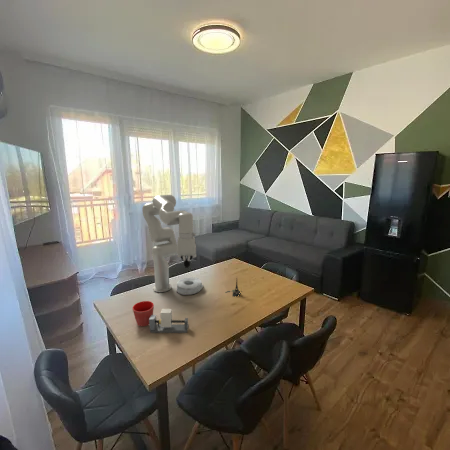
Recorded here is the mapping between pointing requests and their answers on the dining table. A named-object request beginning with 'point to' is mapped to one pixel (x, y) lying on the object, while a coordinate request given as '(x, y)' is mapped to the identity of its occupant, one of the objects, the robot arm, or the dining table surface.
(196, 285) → the cable
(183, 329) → the grey slider rail
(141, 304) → the flower pot
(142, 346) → the dining table surface
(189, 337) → the dining table surface
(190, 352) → the dining table surface
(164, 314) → the white sliding block
